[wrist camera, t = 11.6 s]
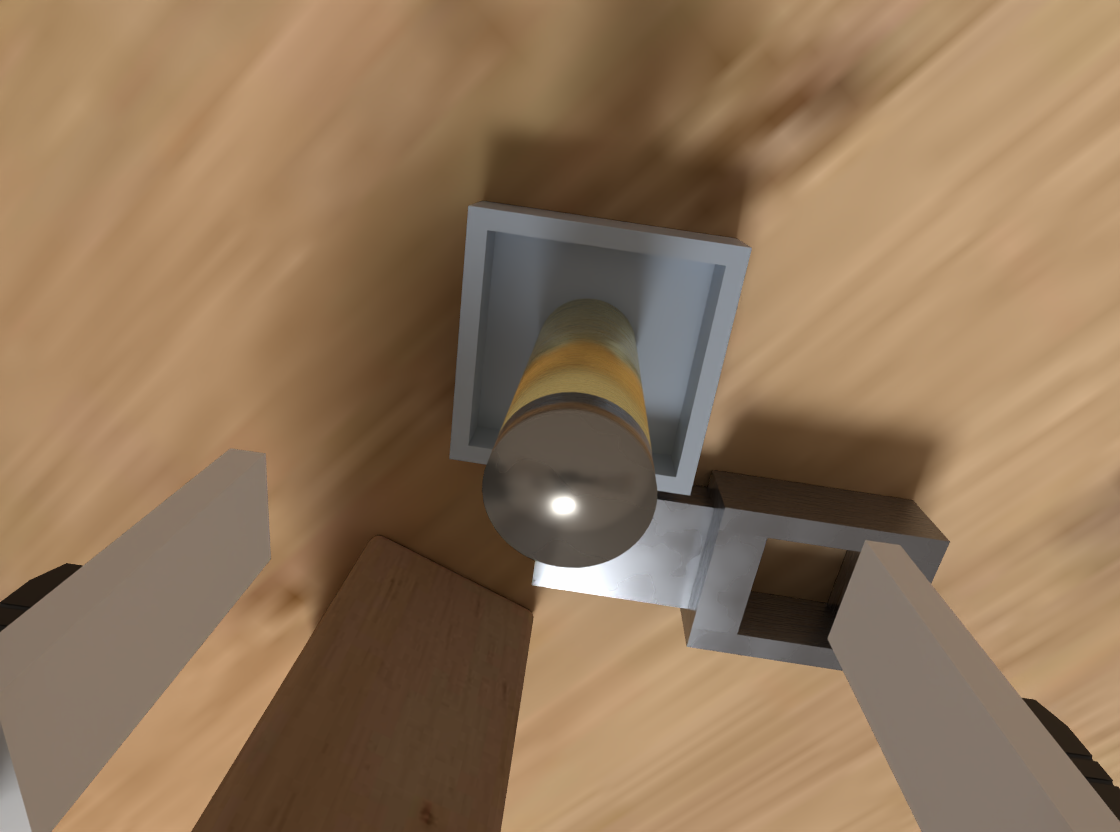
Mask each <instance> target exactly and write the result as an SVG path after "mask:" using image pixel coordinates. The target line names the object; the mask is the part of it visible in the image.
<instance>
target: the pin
mask: <svg viewBox="0 0 1120 832" xmlns="http://www.w3.org/2000/svg"><path fill="white" fill-rule="evenodd" d="M482 492H483V501H484V505H485V509H486V512H487V514H488V516H489V519H490V521H491V523H492V524H493V526H494V528H495V529H496V530H497V532H498V533H499V534H500V536H501V537H502V538H503V539H504V540H505V541H506V542H507V543H508V544H509V545H510V546H512V547H513V548H514V549H516V550H517V551H518V552H520V553H522V554H523V555H525V556H527V557H529V558H531V559H533V560H535V561H538V562H541V563H544V564H547V565H551V566H556V567H564V568H581V567H590V566H594V565H599V564H602V563H605V562H607V561H610V560H612V559H614V558H616V557H618V556H620V555H622V554H623V553H625V552H626V551H628V550H629V549H630V548H631V547H632V546H634V545H635V544H636V543H637V542H638V541H639V539H640V538H641V537H642V536H643V535H644V533H645V532H646V530H647V529H648V527H649V525H650V523H651V521H652V519H653V516H654V513H655V509H656V504H657V483H656V476H655V469H654V463H653V456H652V449H651V442H650V435H649V429H648V422H647V415H646V408H645V401H644V394H643V388H642V381H641V374H640V367H639V360H638V353H637V347H636V340H635V335H634V331H633V329H632V326H631V324H630V323H629V321H628V319H627V318H626V317H625V316H624V314H623V313H622V312H621V311H619V310H618V309H617V308H616V307H614V306H613V305H611V304H609V303H607V302H604V301H601V300H597V299H589V298H588V299H577V300H573V301H570V302H567V303H565V304H563V305H561V306H560V307H558V308H557V309H556V310H555V311H553V312H552V313H551V314H550V315H549V317H548V318H547V319H546V321H545V322H544V324H543V326H542V329H541V331H540V333H539V336H538V338H537V341H536V343H535V346H534V348H533V351H532V353H531V356H530V358H529V361H528V363H527V366H526V368H525V371H524V373H523V375H522V378H521V380H520V383H519V385H518V388H517V390H516V393H515V395H514V398H513V400H512V403H511V405H510V408H509V410H508V413H507V415H506V417H505V420H504V422H503V425H502V427H501V430H500V432H499V435H498V437H497V440H496V442H495V445H494V447H493V450H492V452H491V455H490V457H489V459H488V462H487V465H486V468H485V471H484V476H483V485H482Z"/></svg>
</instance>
